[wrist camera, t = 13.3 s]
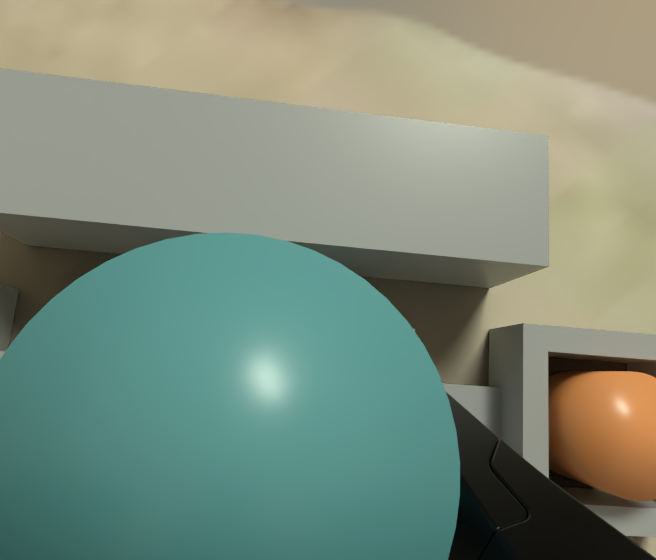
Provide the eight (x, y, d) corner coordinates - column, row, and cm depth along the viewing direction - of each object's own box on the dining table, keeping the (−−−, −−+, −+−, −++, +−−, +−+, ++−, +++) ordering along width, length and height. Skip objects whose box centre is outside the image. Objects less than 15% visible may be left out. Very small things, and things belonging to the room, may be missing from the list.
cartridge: (196, 504, 16) (-2, 864, 4) (159, 345, 17) (-96, 290, 5) (352, 455, 17) (535, 647, 5) (310, 304, 18) (389, 177, 6)
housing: (652, 516, 18) (761, 557, 14) (-232, 472, 15) (-409, 509, 11) (640, 200, 20) (732, 158, 16) (-140, 112, 17) (-262, 36, 13)
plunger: (546, 492, 17) (603, 518, 14) (511, 387, 18) (559, 391, 15) (638, 460, 18) (712, 478, 15) (602, 358, 18) (667, 356, 15)
